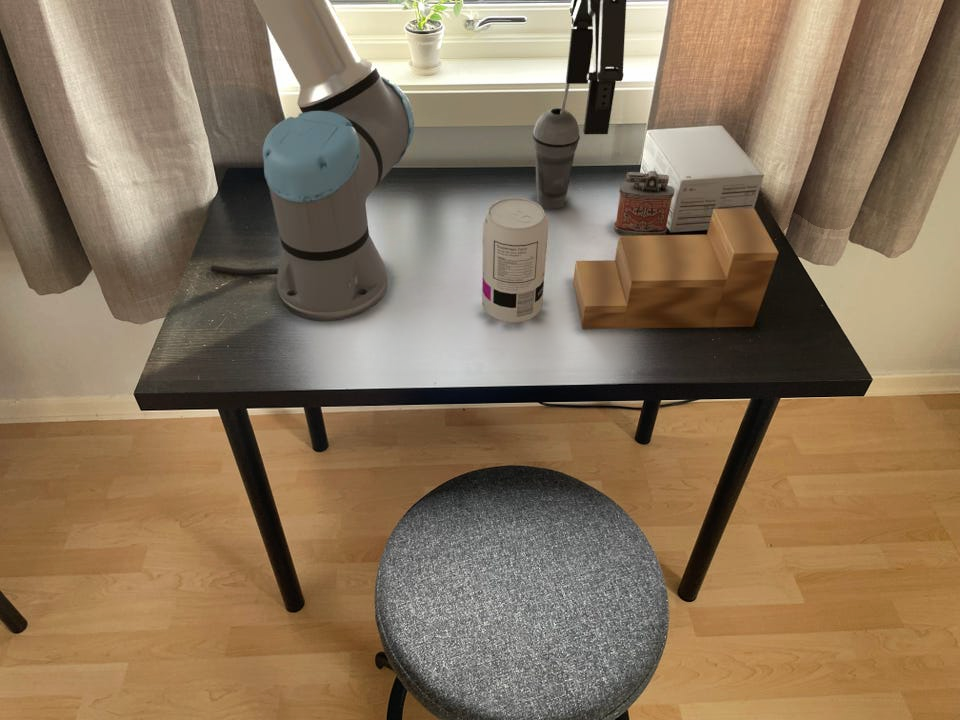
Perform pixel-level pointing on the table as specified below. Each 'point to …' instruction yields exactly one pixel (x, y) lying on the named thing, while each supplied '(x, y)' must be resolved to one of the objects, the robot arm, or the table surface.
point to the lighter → (644, 204)
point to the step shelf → (680, 278)
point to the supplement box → (701, 173)
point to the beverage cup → (554, 154)
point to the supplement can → (514, 259)
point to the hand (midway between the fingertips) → (585, 106)
